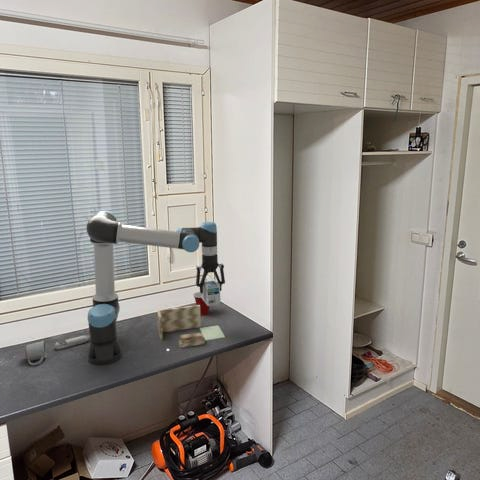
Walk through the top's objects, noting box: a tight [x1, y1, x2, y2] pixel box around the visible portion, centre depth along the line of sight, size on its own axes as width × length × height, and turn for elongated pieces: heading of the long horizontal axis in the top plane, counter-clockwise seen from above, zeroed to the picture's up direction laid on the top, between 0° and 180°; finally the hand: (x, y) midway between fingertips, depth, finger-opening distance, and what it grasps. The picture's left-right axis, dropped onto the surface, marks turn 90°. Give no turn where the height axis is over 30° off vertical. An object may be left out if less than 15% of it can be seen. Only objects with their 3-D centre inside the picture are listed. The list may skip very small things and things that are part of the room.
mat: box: [199, 325, 226, 342], centre depth 214 cm, size 10×14×1 cm
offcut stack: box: [178, 332, 206, 348], centre depth 202 cm, size 12×4×5 cm, turn 107°
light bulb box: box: [203, 277, 221, 307], centre depth 208 cm, size 11×7×11 cm, turn 21°
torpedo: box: [54, 329, 90, 350], centre depth 202 cm, size 18×5×7 cm, turn 124°
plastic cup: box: [192, 291, 211, 316], centre depth 237 cm, size 11×11×12 cm
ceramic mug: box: [24, 340, 47, 367], centre depth 188 cm, size 11×8×8 cm
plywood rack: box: [156, 304, 202, 341], centre depth 213 cm, size 22×10×12 cm, turn 107°
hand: (210, 298), depth 209 cm, fingers closed on light bulb box, 7 cm apart
